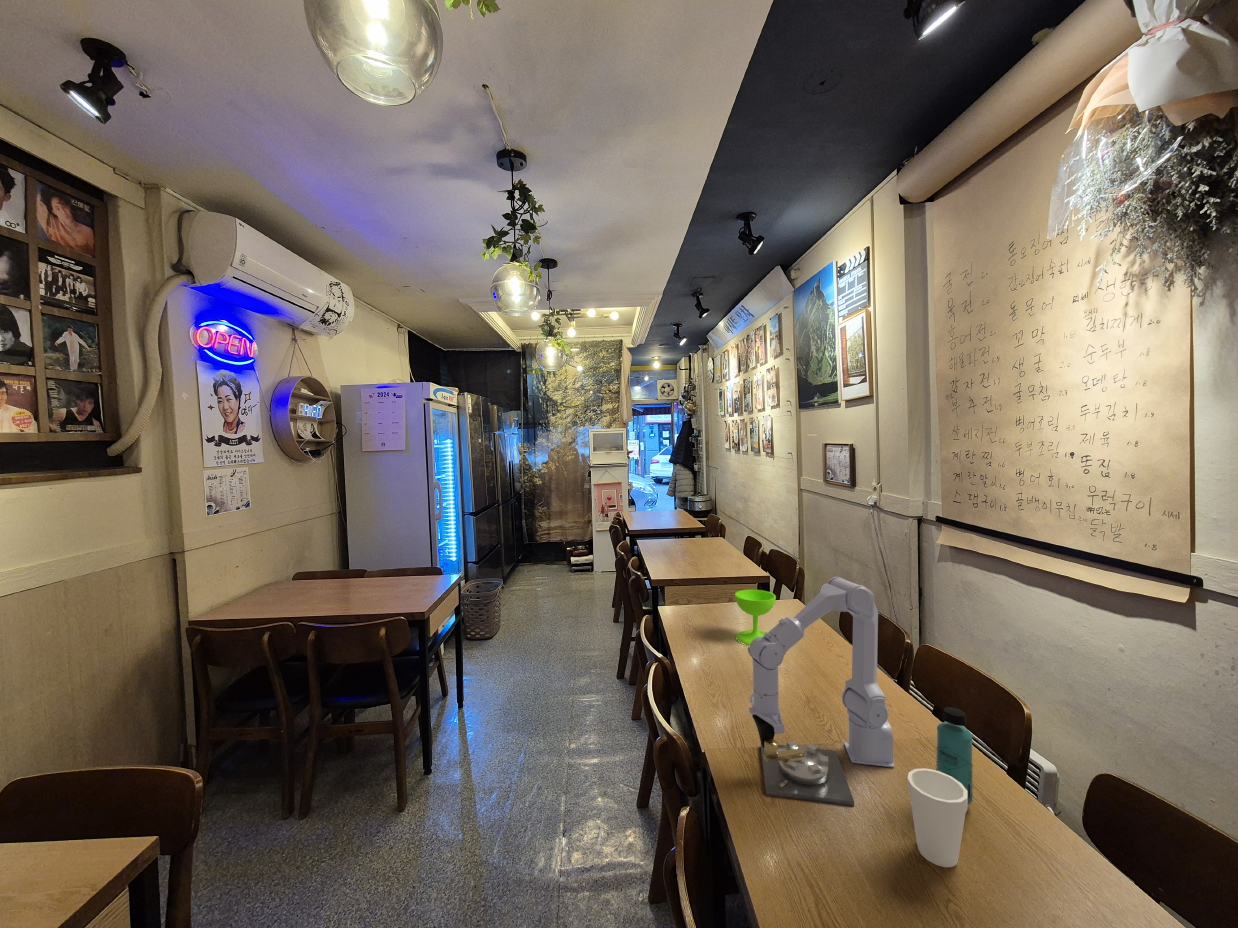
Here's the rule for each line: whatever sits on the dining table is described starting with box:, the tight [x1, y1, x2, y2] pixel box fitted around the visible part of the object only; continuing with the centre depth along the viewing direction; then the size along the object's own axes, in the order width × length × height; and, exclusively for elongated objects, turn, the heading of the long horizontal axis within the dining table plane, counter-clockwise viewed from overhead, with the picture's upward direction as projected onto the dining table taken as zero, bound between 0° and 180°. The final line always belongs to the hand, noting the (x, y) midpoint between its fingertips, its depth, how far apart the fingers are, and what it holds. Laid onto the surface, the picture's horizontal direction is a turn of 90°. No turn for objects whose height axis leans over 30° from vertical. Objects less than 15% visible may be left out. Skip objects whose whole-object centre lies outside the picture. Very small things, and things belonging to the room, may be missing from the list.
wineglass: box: [734, 589, 777, 646], centre depth 196 cm, size 16×16×18 cm
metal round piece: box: [763, 739, 829, 785], centre depth 113 cm, size 15×11×7 cm
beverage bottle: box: [935, 706, 974, 806], centre depth 103 cm, size 6×7×20 cm
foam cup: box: [906, 767, 969, 868], centre depth 90 cm, size 10×9×13 cm
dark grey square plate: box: [760, 744, 855, 807], centre depth 114 cm, size 18×18×1 cm
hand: (766, 746), depth 115 cm, fingers closed
